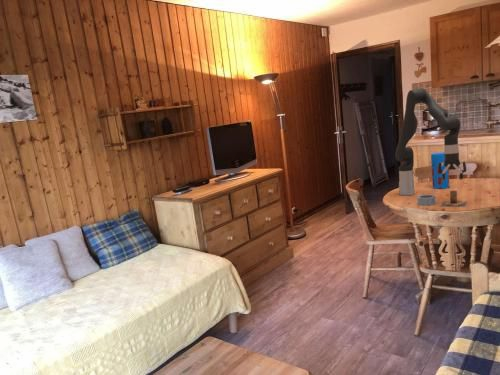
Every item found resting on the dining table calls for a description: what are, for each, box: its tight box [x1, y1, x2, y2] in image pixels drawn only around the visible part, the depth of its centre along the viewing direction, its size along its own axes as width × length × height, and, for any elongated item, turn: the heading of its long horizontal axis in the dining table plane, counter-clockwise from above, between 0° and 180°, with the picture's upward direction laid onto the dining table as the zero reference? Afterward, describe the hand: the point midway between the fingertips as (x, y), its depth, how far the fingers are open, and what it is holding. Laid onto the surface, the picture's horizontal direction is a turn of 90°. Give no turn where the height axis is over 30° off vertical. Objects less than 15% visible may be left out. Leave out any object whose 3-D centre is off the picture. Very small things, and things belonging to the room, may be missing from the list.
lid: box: [443, 190, 465, 206], centre depth 228 cm, size 11×11×8 cm
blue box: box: [430, 151, 450, 190], centre depth 276 cm, size 11×11×25 cm
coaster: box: [439, 200, 468, 208], centre depth 229 cm, size 13×13×1 cm
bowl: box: [416, 194, 437, 207], centre depth 237 cm, size 10×10×5 cm
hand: (452, 179), depth 226 cm, fingers open, 8 cm apart
